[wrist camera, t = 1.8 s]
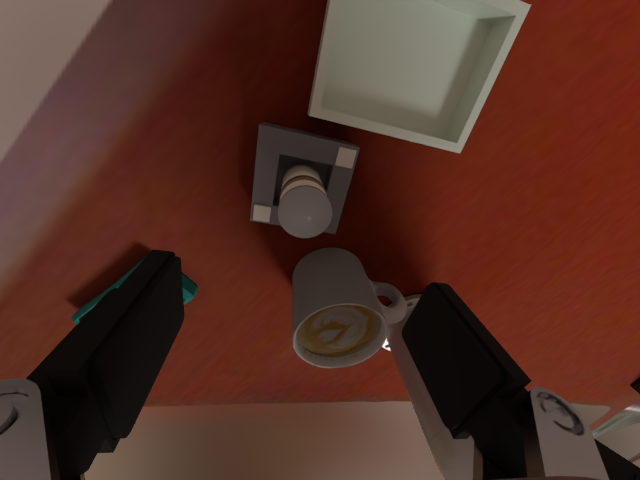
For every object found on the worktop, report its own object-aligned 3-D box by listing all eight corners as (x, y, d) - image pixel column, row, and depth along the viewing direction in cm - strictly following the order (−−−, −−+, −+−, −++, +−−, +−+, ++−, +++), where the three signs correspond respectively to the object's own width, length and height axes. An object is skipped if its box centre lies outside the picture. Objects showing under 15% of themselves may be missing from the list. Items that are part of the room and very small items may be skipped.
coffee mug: (288, 302, 35) (286, 367, 26) (297, 243, 30) (299, 299, 21) (374, 307, 37) (400, 369, 28) (396, 253, 32) (433, 308, 24)
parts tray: (500, 17, 21) (531, 5, 18) (442, 148, 26) (460, 153, 23) (335, -47, 18) (343, -74, 15) (307, 114, 23) (309, 115, 20)
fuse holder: (351, 142, 25) (361, 148, 21) (330, 220, 29) (335, 235, 26) (263, 121, 23) (258, 124, 20) (254, 207, 27) (249, 222, 24)
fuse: (323, 164, 25) (338, 193, 17) (315, 199, 26) (325, 241, 18) (285, 156, 24) (282, 182, 16) (280, 193, 26) (274, 234, 18)
